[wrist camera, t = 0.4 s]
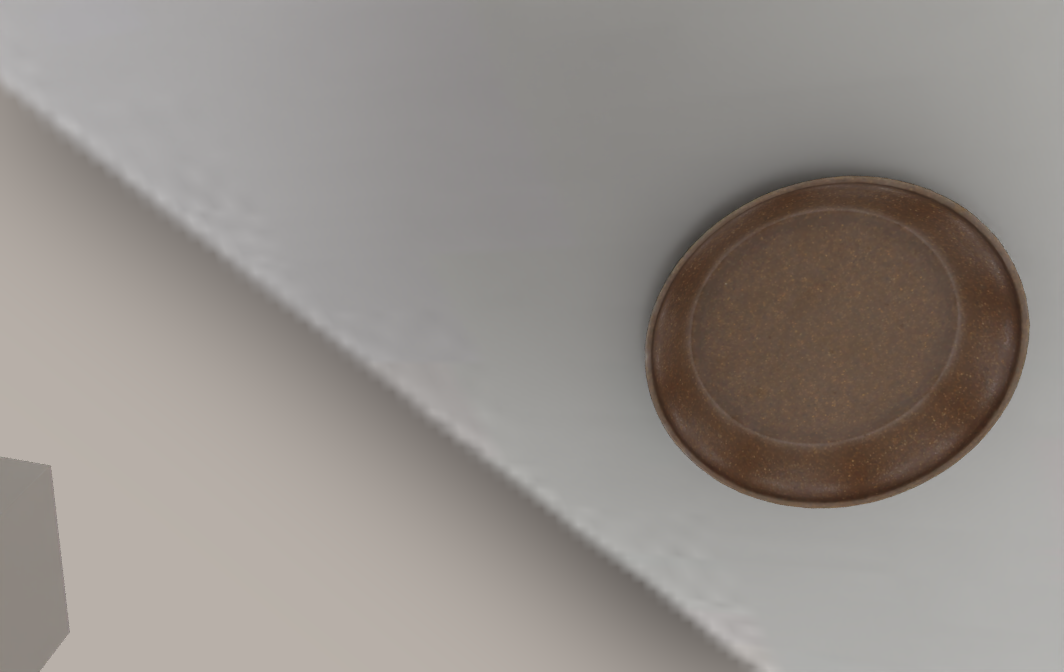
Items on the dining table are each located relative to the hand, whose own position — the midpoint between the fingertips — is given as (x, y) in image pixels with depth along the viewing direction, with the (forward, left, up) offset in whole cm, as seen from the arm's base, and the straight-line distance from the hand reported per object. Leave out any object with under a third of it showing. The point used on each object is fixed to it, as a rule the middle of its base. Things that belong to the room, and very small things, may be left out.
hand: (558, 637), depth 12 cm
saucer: (+7, +10, -28) cm, 30 cm away
